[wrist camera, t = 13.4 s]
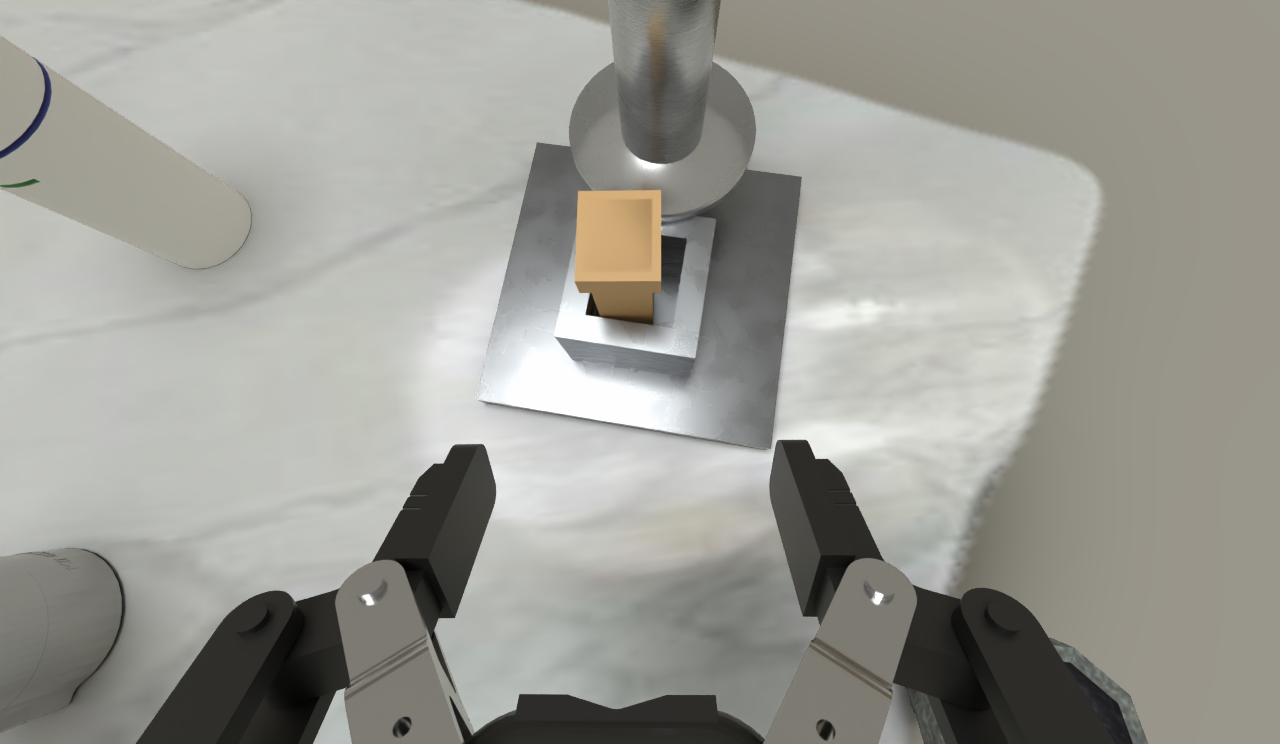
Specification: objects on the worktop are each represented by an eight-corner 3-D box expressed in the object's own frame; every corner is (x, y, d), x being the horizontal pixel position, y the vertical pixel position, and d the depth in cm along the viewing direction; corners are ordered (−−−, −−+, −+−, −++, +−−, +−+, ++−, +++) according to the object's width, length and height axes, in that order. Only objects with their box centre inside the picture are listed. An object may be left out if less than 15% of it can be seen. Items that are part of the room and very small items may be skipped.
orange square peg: (658, 349, 32) (661, 281, 21) (603, 348, 32) (574, 281, 21) (659, 288, 33) (661, 190, 21) (605, 288, 33) (577, 190, 22)
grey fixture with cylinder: (765, 449, 32) (1733, 290, 3) (483, 402, 33) (-605, -12, 5) (799, 160, 36) (1346, -1013, 8) (548, 127, 38) (199, -979, 9)
